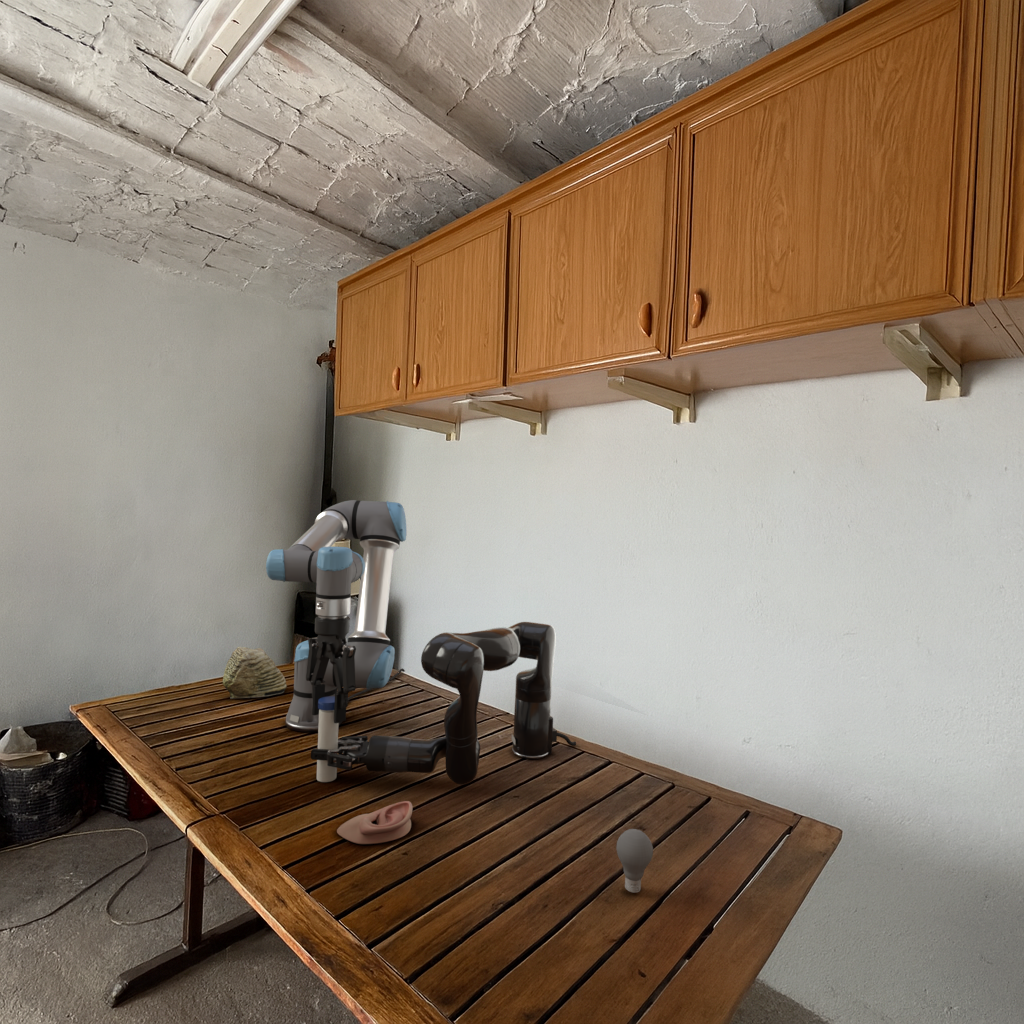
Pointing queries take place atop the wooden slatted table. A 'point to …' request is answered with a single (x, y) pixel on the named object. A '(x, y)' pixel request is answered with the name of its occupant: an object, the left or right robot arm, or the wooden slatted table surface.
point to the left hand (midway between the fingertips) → (328, 717)
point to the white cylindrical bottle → (327, 744)
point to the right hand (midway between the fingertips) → (315, 749)
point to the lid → (326, 703)
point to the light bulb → (634, 857)
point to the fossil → (252, 674)
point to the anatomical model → (379, 825)
